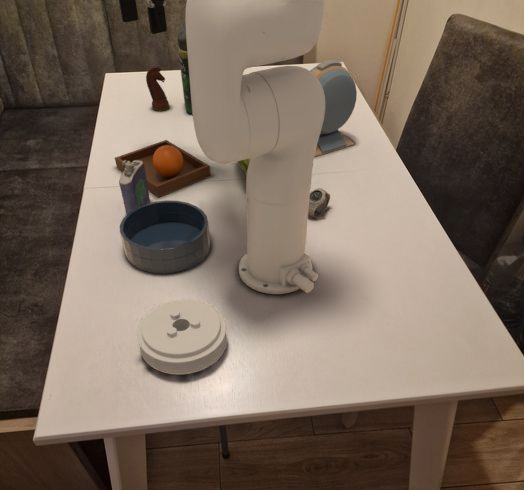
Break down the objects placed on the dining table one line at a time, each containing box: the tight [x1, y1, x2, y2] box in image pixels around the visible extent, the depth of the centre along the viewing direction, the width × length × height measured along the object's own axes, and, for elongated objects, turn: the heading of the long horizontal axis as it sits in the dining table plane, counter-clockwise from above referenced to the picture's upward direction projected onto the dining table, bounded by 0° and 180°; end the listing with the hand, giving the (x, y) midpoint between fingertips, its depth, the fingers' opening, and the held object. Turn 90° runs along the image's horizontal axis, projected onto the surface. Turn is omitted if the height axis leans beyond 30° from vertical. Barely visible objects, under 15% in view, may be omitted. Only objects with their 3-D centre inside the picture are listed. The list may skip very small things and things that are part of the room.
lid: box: [136, 298, 228, 376], centre depth 70 cm, size 13×13×5 cm
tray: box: [114, 139, 212, 198], centre depth 106 cm, size 17×14×2 cm
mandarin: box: [153, 145, 184, 178], centre depth 102 cm, size 6×6×6 cm
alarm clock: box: [309, 59, 358, 158], centre depth 110 cm, size 14×10×18 cm
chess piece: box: [145, 65, 170, 112], centre depth 127 cm, size 5×5×10 cm
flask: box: [118, 160, 151, 216], centre depth 91 cm, size 9×3×11 cm, turn 172°
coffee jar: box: [177, 25, 193, 114], centre depth 124 cm, size 10×8×19 cm
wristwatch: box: [308, 187, 331, 219], centre depth 94 cm, size 4×6×5 cm, turn 143°
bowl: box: [119, 199, 211, 275], centre depth 86 cm, size 15×15×5 cm
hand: (144, 26), depth 91 cm, fingers open, 9 cm apart
